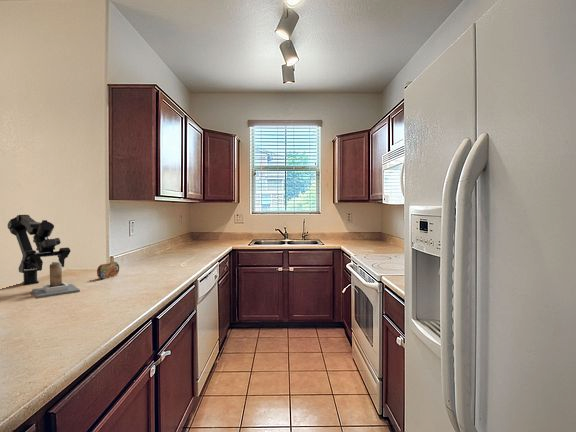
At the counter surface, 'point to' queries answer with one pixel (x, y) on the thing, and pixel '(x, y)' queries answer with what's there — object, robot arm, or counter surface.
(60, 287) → the grey square frame plate
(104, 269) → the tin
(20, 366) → the counter surface
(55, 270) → the mill
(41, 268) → the robot arm
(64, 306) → the counter surface
